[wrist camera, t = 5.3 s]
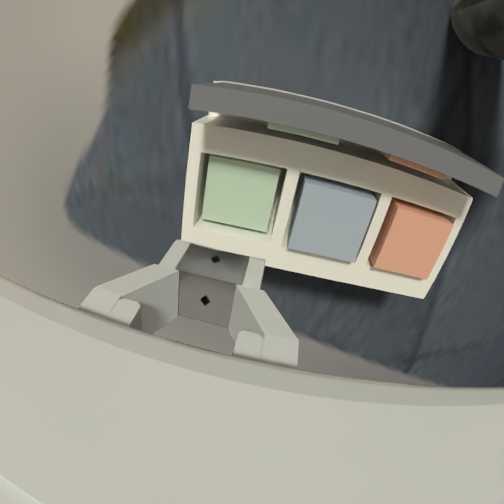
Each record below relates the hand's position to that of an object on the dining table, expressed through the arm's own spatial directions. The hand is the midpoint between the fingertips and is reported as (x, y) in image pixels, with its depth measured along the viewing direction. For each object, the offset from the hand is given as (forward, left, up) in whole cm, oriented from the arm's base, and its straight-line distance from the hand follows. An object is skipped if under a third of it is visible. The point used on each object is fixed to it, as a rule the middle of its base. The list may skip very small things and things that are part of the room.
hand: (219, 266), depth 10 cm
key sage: (0, 0, -8) cm, 9 cm away
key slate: (-4, 0, -7) cm, 9 cm away
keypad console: (-4, -1, -11) cm, 12 cm away
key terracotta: (-9, 0, -7) cm, 12 cm away
